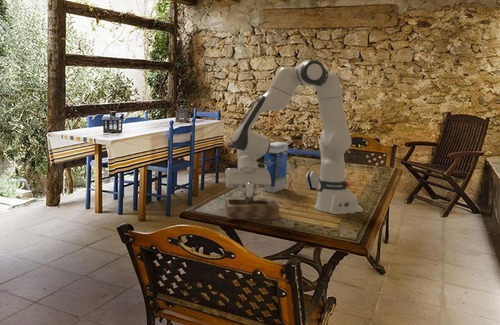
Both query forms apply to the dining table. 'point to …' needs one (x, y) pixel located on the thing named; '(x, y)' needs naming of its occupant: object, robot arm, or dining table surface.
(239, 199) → the wooden compartment tray
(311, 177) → the hinge
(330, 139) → the robot arm
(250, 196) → the steel peg
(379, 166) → the dining table surface
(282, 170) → the string lights box
